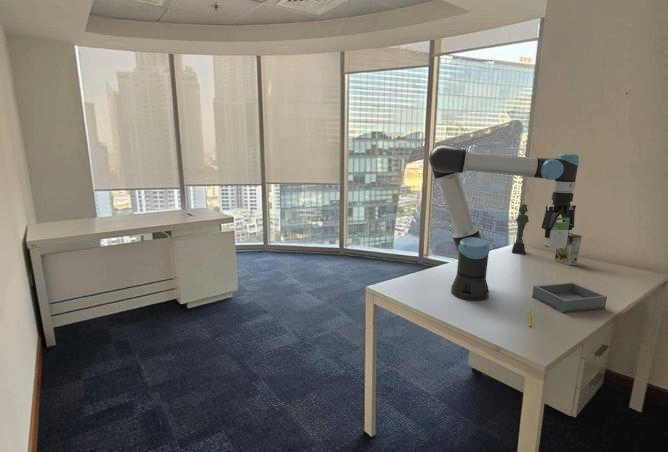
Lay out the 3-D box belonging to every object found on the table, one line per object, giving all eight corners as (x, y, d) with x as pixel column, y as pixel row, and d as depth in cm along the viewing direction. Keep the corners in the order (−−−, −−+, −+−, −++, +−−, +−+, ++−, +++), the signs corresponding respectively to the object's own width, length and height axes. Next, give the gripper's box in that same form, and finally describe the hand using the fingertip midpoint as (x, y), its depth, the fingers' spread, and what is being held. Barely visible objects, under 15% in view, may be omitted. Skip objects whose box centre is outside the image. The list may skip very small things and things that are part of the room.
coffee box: (554, 260, 211) (558, 232, 207) (562, 259, 212) (567, 231, 209) (568, 265, 202) (572, 236, 199) (577, 264, 204) (582, 235, 200)
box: (563, 313, 144) (565, 301, 142) (532, 297, 159) (533, 285, 158) (605, 308, 148) (607, 296, 147) (570, 293, 164) (572, 282, 163)
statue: (524, 251, 228) (531, 202, 221) (525, 254, 221) (531, 204, 215) (511, 250, 231) (517, 201, 224) (512, 253, 224) (517, 203, 218)
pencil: (528, 328, 132) (528, 325, 132) (527, 312, 144) (527, 310, 144) (531, 329, 131) (532, 326, 131) (530, 313, 144) (530, 310, 144)
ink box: (560, 246, 163) (565, 216, 161) (565, 249, 160) (570, 217, 157) (544, 245, 164) (548, 215, 161) (548, 248, 160) (553, 217, 157)
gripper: (551, 193, 150) (543, 248, 155) (590, 192, 156) (581, 245, 161) (536, 190, 157) (529, 243, 162) (574, 190, 163) (566, 241, 168)
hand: (555, 244), depth 161 cm, fingers closed on ink box, 8 cm apart
